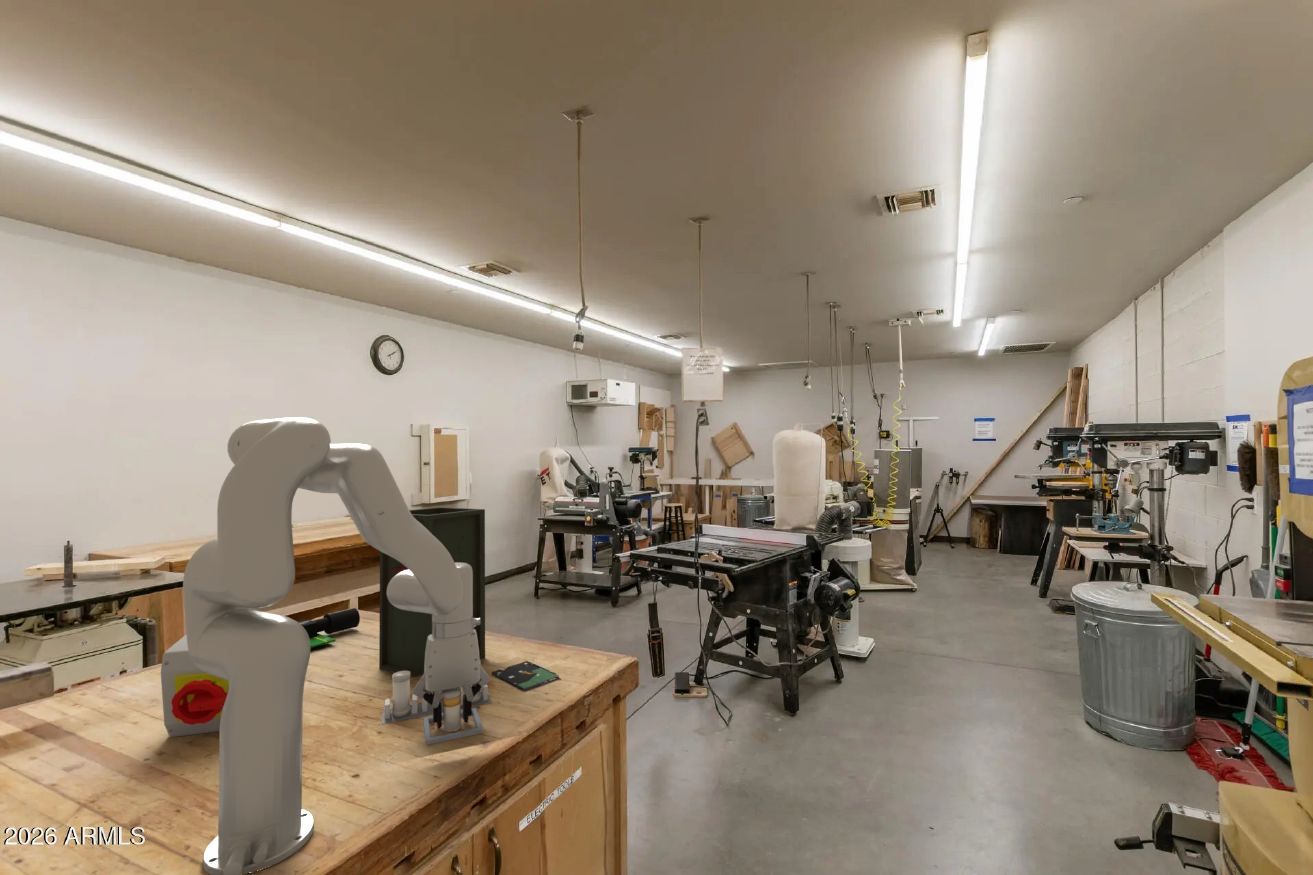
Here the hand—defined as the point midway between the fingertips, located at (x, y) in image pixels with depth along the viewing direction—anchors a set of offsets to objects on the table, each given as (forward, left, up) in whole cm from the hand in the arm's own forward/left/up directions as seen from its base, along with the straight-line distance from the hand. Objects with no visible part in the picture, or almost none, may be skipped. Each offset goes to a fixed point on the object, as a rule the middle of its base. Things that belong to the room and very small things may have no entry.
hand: (452, 721), depth 108 cm
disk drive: (+19, -18, -3) cm, 26 cm away
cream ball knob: (+11, -5, -1) cm, 12 cm away
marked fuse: (0, 0, -2) cm, 2 cm away
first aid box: (+43, +1, -3) cm, 43 cm away
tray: (0, 0, -3) cm, 3 cm away
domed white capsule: (+11, +9, -1) cm, 14 cm away
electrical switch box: (+24, +43, -3) cm, 49 cm away
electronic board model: (+77, +33, -3) cm, 83 cm away
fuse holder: (+11, +2, -3) cm, 11 cm away
